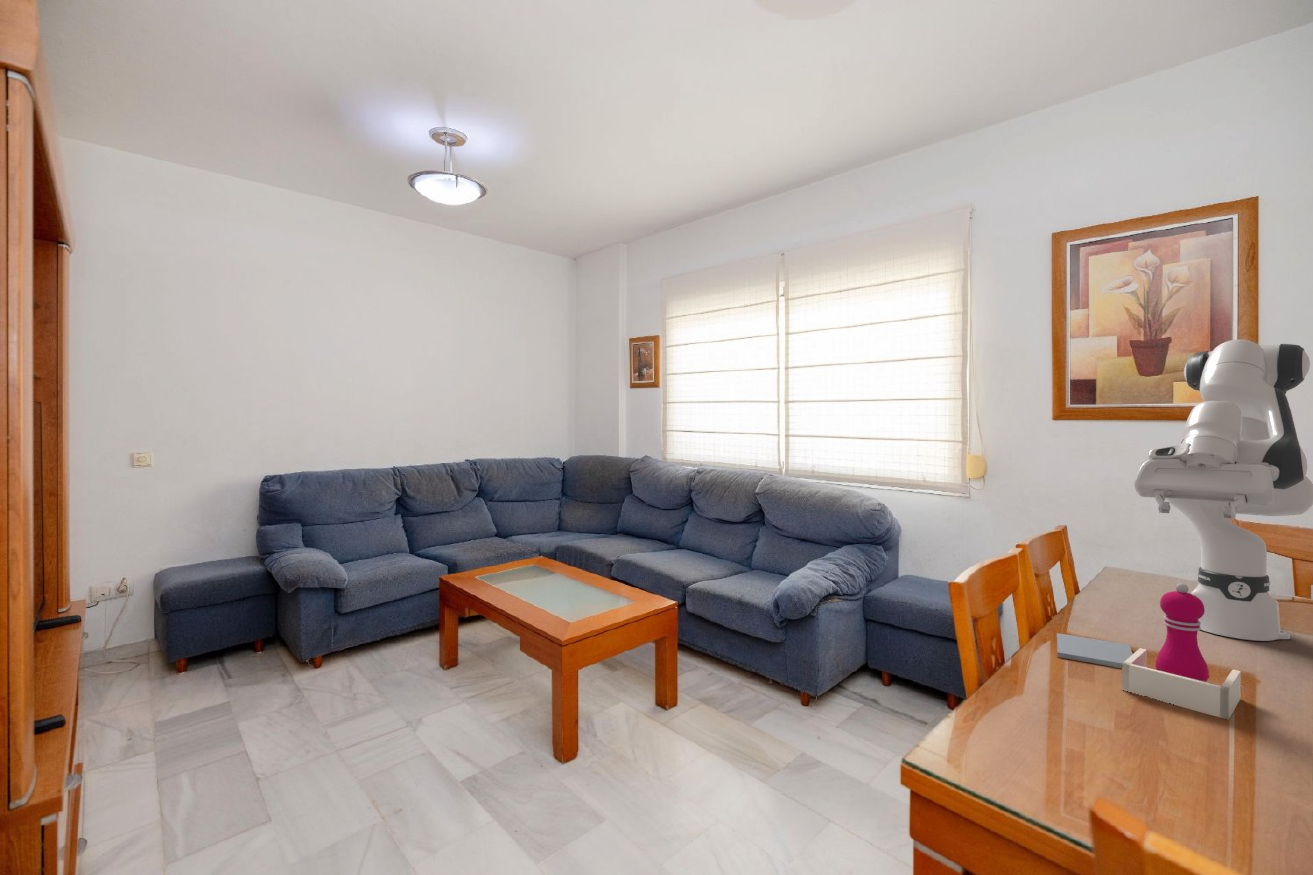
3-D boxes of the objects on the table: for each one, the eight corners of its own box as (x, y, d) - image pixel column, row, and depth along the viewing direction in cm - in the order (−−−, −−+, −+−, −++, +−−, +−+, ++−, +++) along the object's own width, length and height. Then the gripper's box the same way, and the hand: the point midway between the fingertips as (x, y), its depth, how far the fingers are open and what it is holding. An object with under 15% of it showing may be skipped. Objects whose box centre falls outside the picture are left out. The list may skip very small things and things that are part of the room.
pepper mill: (1219, 703, 101) (1220, 589, 101) (1171, 700, 102) (1172, 587, 102) (1190, 686, 108) (1191, 579, 108) (1146, 682, 109) (1146, 577, 109)
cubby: (1140, 673, 114) (1140, 647, 114) (1240, 698, 103) (1240, 670, 103) (1122, 690, 106) (1122, 663, 106) (1228, 719, 95) (1228, 689, 95)
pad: (1056, 637, 134) (1056, 633, 134) (1129, 649, 126) (1129, 644, 126) (1057, 656, 122) (1057, 652, 122) (1137, 670, 115) (1137, 665, 115)
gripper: (1281, 474, 111) (1274, 530, 106) (1145, 469, 128) (1133, 518, 122) (1278, 452, 109) (1271, 508, 103) (1140, 450, 125) (1126, 498, 119)
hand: (1195, 513), depth 112 cm, fingers open, 8 cm apart
